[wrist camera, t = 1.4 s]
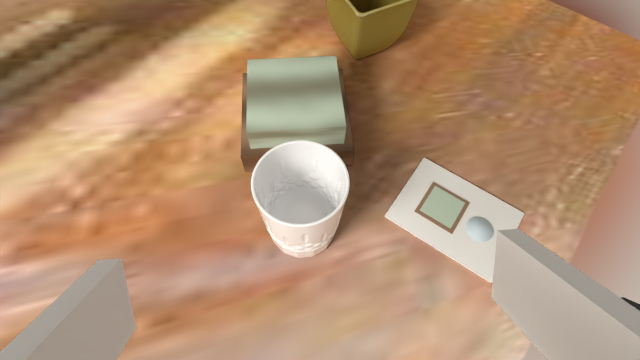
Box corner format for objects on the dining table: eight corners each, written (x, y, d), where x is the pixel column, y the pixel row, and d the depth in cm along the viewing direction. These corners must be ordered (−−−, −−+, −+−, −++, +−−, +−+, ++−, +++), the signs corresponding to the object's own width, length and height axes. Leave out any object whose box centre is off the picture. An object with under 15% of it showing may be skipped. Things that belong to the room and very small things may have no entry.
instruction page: (384, 216, 39) (384, 215, 39) (423, 158, 42) (424, 156, 42) (490, 283, 36) (492, 282, 35) (523, 214, 39) (525, 212, 39)
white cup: (249, 225, 38) (230, 179, 29) (304, 179, 41) (302, 124, 32) (301, 280, 35) (297, 247, 27) (356, 227, 38) (370, 181, 29)
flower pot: (406, 54, 51) (424, -6, 43) (351, 75, 49) (359, 16, 41) (373, 16, 54) (383, -46, 47) (320, 34, 52) (322, -28, 44)
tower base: (351, 165, 42) (357, 134, 37) (245, 171, 41) (235, 140, 36) (340, 86, 48) (343, 49, 42) (246, 90, 47) (238, 53, 42)
